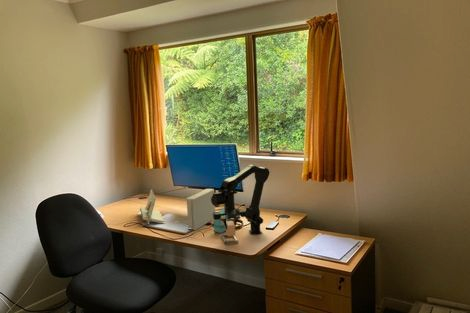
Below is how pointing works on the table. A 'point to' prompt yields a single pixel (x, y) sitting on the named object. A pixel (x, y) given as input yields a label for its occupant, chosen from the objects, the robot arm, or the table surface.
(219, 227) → the data package
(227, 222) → the tall beige box
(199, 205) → the game console
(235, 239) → the grey rectangular frame
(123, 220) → the table surface
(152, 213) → the architectural model
